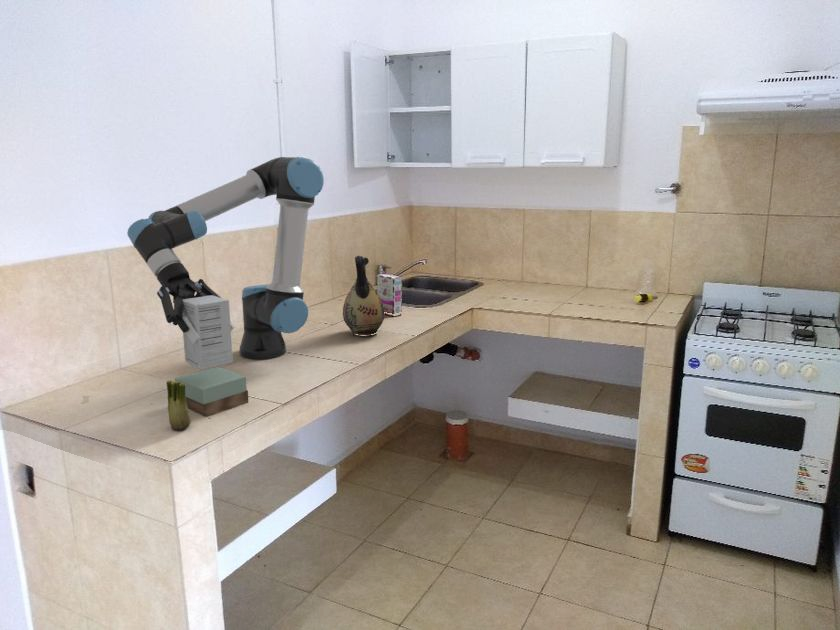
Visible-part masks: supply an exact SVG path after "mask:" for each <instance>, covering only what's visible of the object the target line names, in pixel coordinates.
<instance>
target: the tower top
mask: <svg viewBox="0 0 840 630" xmlns="http://www.w3.org/2000/svg"><path fill="white" fill-rule="evenodd" d="M178 381H180V382H181V383H183V384H185V394H186V397H188V398H190V399H192V400H195V401H197V402H199V403H201V404H207V403H210V402H213V401H216V400H219V399H222V398H226V397H229V396H232V395H235V394H238V393H241V392H244V391H247V390H248V389H247V377H246V376H245V375H242V374H240V373H238V372H237V373H236V372H234V371H232V370H229V369H225V368H223V367H221V366H219V365H217V366H213V367H208V368H205V369H201V370H199V371H195V372H192V373H188V374H184V375H180V376H177V377H174V382H176V383H177V382H178Z"/></svg>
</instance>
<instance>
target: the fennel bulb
mask: <svg viewBox="0 0 840 630" xmlns="http://www.w3.org/2000/svg"><path fill="white" fill-rule="evenodd" d="M166 389H167V409H168V410H167V412H168V421H169V426H170V428H171V429H172V430H174V431H182V430H186V429H188V427H190V424H191V422H192V421H191V420H192V419H191V415H190V413H189V411H190V410H189V409H188V407H187V403H186V394H185V384H183V383H181V382H180V381H178V382H177V383H176V382H175V381H172V380H166Z"/></svg>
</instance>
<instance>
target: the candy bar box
mask: <svg viewBox="0 0 840 630" xmlns="http://www.w3.org/2000/svg"><path fill="white" fill-rule="evenodd" d="M376 285H377V286H376V292H377V293H378V295H379V297H380V298H381V301H382V304H383V307H384V312H387V313H392V314H395V313H399V312H402V311H403V295H402V294H403V277H401V276H399V275H392V274H387V273H381V274H376ZM402 313H403V312H402Z"/></svg>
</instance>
